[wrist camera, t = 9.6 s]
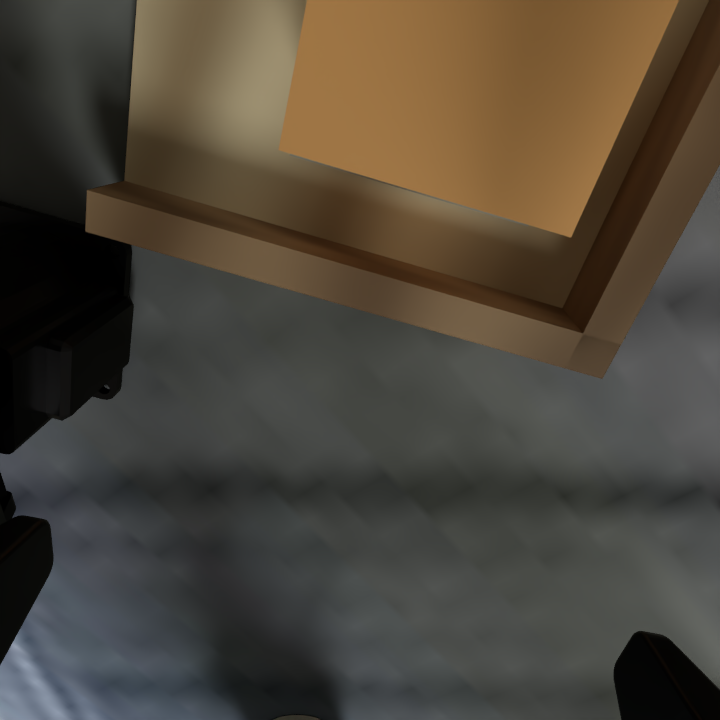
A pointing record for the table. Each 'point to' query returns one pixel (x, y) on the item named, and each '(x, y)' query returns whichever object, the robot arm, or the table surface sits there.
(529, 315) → the arena
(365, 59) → the cube
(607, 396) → the table surface
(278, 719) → the house plant
